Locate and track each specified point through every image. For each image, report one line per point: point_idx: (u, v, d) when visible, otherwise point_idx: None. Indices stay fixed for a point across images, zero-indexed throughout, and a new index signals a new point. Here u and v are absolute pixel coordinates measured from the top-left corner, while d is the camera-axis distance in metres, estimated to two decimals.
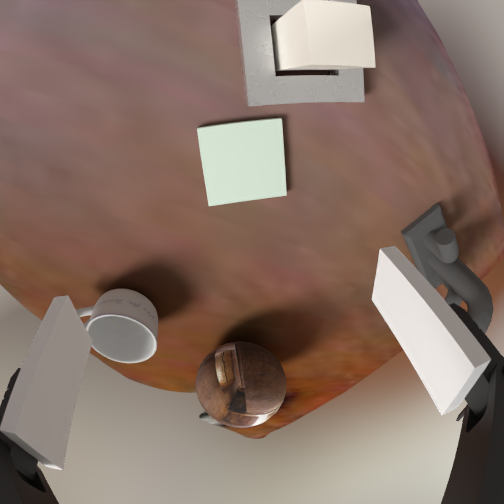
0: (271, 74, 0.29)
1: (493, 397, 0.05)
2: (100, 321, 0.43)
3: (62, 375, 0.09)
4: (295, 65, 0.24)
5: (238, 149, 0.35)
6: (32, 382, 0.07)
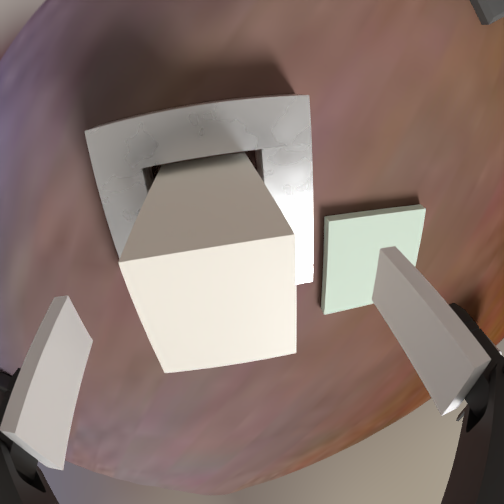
0: None
1: (493, 397, 0.05)
2: None
3: (62, 375, 0.09)
4: None
5: (359, 271, 0.27)
6: (32, 382, 0.07)
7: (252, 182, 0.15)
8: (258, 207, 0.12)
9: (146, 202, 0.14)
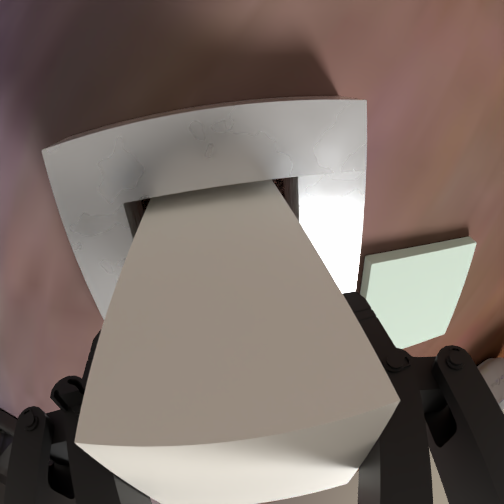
0: None
1: None
2: None
3: None
4: None
5: (398, 316, 0.21)
6: None
7: (293, 243, 0.09)
8: (319, 314, 0.07)
9: (124, 276, 0.09)
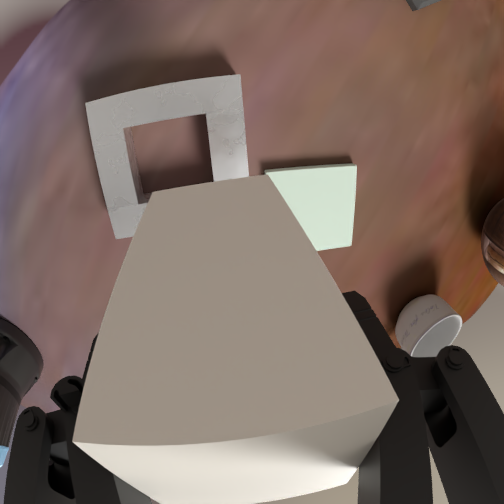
0: None
1: None
2: None
3: None
4: None
5: (298, 218, 0.33)
6: None
7: (292, 242, 0.09)
8: (317, 313, 0.07)
9: (123, 275, 0.09)
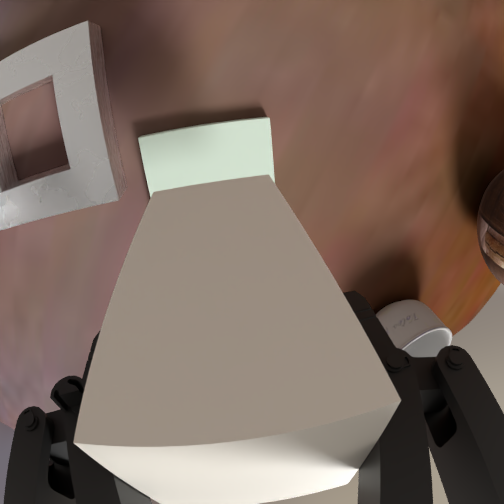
0: (69, 175, 0.19)
1: None
2: None
3: None
4: None
5: None
6: None
7: (294, 242, 0.09)
8: (319, 313, 0.07)
9: (124, 275, 0.09)
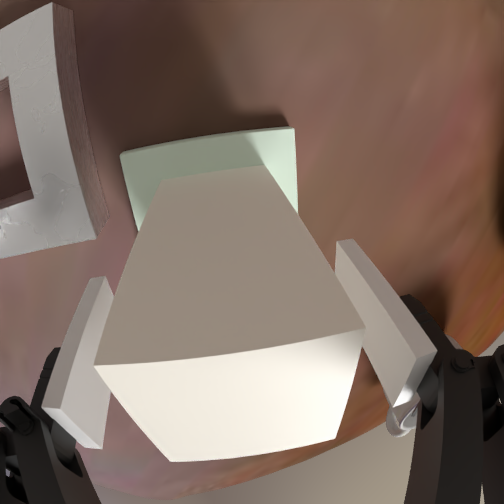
0: (33, 206, 0.14)
1: (442, 394, 0.06)
2: None
3: None
4: None
5: None
6: (75, 358, 0.08)
7: (283, 216, 0.11)
8: (300, 265, 0.08)
9: (138, 243, 0.10)
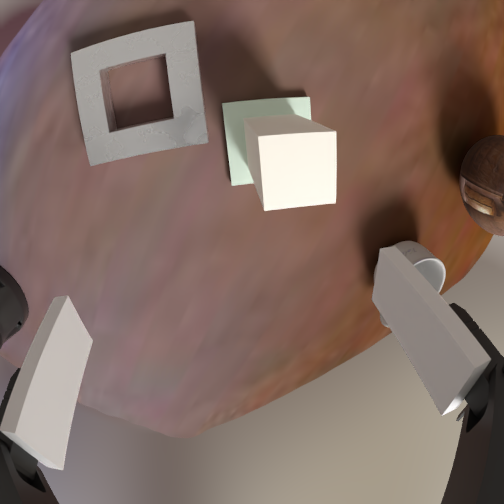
0: (172, 123, 0.30)
1: (493, 397, 0.05)
2: None
3: (62, 375, 0.09)
4: None
5: None
6: (32, 382, 0.07)
7: (307, 121, 0.27)
8: (315, 126, 0.24)
9: (252, 126, 0.26)
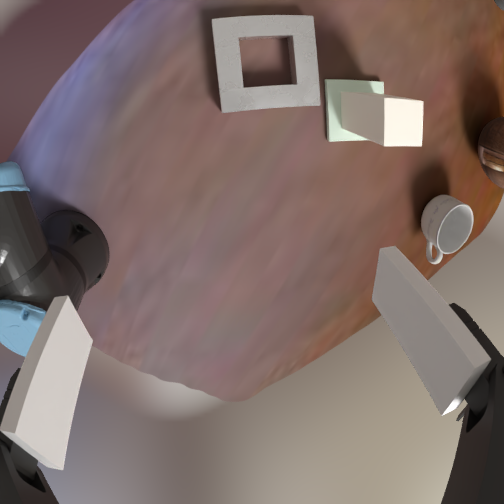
0: (295, 87, 0.38)
1: (493, 397, 0.05)
2: (438, 238, 0.56)
3: (62, 375, 0.09)
4: None
5: None
6: (32, 382, 0.07)
7: (395, 96, 0.35)
8: (406, 98, 0.32)
9: (364, 94, 0.34)
